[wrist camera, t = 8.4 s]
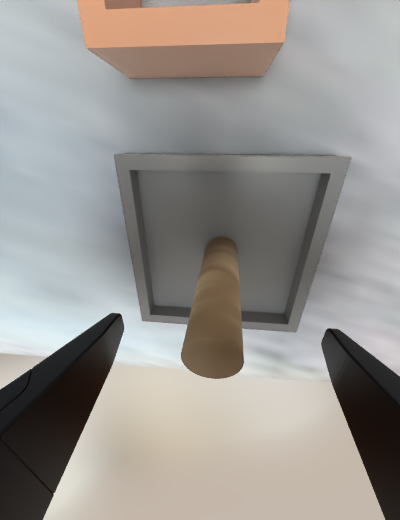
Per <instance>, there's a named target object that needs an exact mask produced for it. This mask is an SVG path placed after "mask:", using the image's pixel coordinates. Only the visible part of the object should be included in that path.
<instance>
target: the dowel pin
mask: <svg viewBox="0 0 400 520" xmlns="http://www.w3.org/2000/svg"><path fill="white" fill-rule="evenodd" d="M181 359H182V362H183V363H184V365H185V366H186V367H187V368H188V369H189V370H190V371H192V372H193V373H195V374H197V375H200V376H203V377H206V378H214V379H220V378H227V377H230V376H233V375H235V374H236V373H238V372H239V371H240V370H241V369H242V367H243V364H244V357H243V339H242V321H241V303H240V286H239V268H238V250H237V246H236V244H235V243H234V242H233V241H232V240H231V239H229V238H227V237H215V238H213V239H211V240H210V241H209V242H208V243H207V245H206V248H205V252H204V257H203V261H202V265H201V270H200V274H199V278H198V283H197V287H196V291H195V296H194V300H193V304H192V309H191V313H190V317H189V322H188V326H187V330H186V335H185V339H184V343H183V348H182V352H181Z"/></svg>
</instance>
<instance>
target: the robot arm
mask: <svg viewBox="0 0 400 520" xmlns="http://www.w3.org/2000/svg"><path fill="white" fill-rule="evenodd" d="M123 332H124V324H123V320H122V316H121V314H119V313H111V314H109V315H108V316H106V317H105V318H103V319H102V320H101V321H99V322H98V323H96V324H95V325H93V326H92V327H90V328H89V329H88V330H86V331H85V332H83V333H82V334H80V335H79V336H78V337H76V338H75V339H73V340H72V341H70V342H69V343H67V344H66V345H65V346H63V347H62V348H60V349H59V350H57V351H56V352H55V353H53V354H52V355H50V356H49V357H47V358H46V359H44V360H43V361H42V362H40V363H39V364H37V365H36V366H34V367H33V368H32V369H30V370H29V371H27V372H26V373H24V374H23V375H21V376H20V377H18V378H17V379H15V380H14V381H13V382H11V383H10V384H8V385H7V386H5V387H4V388H2V389H0V520H43V518H44V515H45V513H46V511H47V508H48V507H49V504H50V502H51V500H52V497H53V495H54V494H53V493H55V491H56V488H57V486H58V484H59V482H60V480H61V477H62V475H63V473H64V471H65V469H66V466H67V464H68V462H69V460H70V457H71V455H72V453H73V451H74V448H75V446H76V444H77V442H78V440H79V437H80V435H81V433H82V431H83V429H84V426H85V424H86V422H87V420H88V418H89V416H90V413H91V411H92V409H93V407H94V404H95V402H96V400H97V398H98V396H99V393H100V391H101V389H102V386H103V384H104V382H105V380H106V378H107V376H108V373H109V371H110V369H111V366H112V364H113V362H114V359H115V356H116V353H117V350H118V347H119V344H120V341H121V338H122V335H123ZM321 346H322V350H323V354H324V357H325V361H326V364H327V368H328V372H329V375H330V379H331V382H332V385H333V388H334V390H335V393H336V395H337V398H338V400H339V403H340V405H341V408H342V411H343V413H344V416H345V418H346V421H347V423H348V426H349V428H350V431H351V433H352V436H353V438H354V441H355V444H356V446H357V449H358V451H359V454H360V456H361V459H362V461H363V464H364V466H365V469H366V471H367V474H368V476H369V479H370V482H371V484H372V487H373V489H374V492H375V494H376V497H377V499H378V502H379V505H380V507H381V510H382V512H383V515H384V517H385V520H400V376H398V375H397V374H396V373H394V372H393V371H392V370H391V369H389V368H388V367H387V366H385V365H384V364H383V363H382V362H380V361H379V360H378V359H376V358H375V357H374V356H373V355H371V354H370V353H369V352H367V351H366V350H365V349H364V348H362V347H361V346H360V345H358V344H357V343H356V342H354V341H353V340H352V339H351V338H349V337H348V336H347V335H345V334H344V333H343V332H342V331H340V330H339V329H331V328H329V329H327V330H326V332H325V334H324V337H323V339H322V343H321Z"/></svg>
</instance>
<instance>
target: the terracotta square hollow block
mask: <svg viewBox="0 0 400 520" xmlns="http://www.w3.org/2000/svg"><path fill="white" fill-rule="evenodd" d="M77 3H78V8H79V13H80V19H81V24H82V29H83V35H84V40H85V45H86V49H88V50H89V51H91V52H92V53H94V54H95V55H97V56H98V57H100V58H101V59H102V60H104V61H105V62H107V63H108V64H110V65H111V66H113V67H114V68H116V69H117V70H119V71H120V72H122V73H123V74H124V75H126V76H127V77H129V78H186V77H243V76H264V74H265V72H266V71H267V69H268V67H269V66H270V64H271V63H272V61H273V59H274V58H275V56H276V54H277V53H278V51H279V50H280V48H281V46H282V45H283V43H284V39H285V32H286V25H287V18H288V11H289V4H290V0H251V2H250V3H241V4H219V5H196V6H174V7H151V8H141V0H77Z"/></svg>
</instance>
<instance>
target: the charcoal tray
mask: <svg viewBox="0 0 400 520" xmlns="http://www.w3.org/2000/svg"><path fill="white" fill-rule="evenodd" d="M114 159H115V165H116V171H117V176H118V182H119V188H120V194H121V200H122V206H123V211H124V217H125V223H126V229H127V235H128V241H129V246H130V252H131V258H132V264H133V270H134V276H135V281H136V287H137V293H138V299H139V305H140V311H141V316H142V321H149V322H162V323H176V324H188V322H189V317H190V313H191V309H192V304H193V300H194V296H195V291H196V287H197V283H198V278H199V274H200V270H201V265H202V261H203V257H204V252H205V248H206V245H207V243H208V242H209V241H210V240H211V239H213V238H215V237H227V238H229V239H231V240H232V241H233V242H234V243H235V244H236V246H237V250H238V268H239V286H240V303H241V321H242V328H244V329H257V330H271V331H284V332H296V331H297V328H298V325H299V322H300V319H301V315H302V312H303V309H304V306H305V303H306V300H307V296H308V293H309V290H310V287H311V284H312V281H313V277H314V274H315V271H316V268H317V265H318V262H319V258H320V255H321V252H322V249H323V246H324V243H325V239H326V236H327V233H328V230H329V227H330V224H331V220H332V217H333V214H334V211H335V208H336V205H337V201H338V198H339V195H340V192H341V189H342V186H343V182H344V179H345V176H346V173H347V170H348V167H349V163H350V160H351V157H343V156H335V155H253V154H159V153H125V154H116V155H114Z"/></svg>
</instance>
